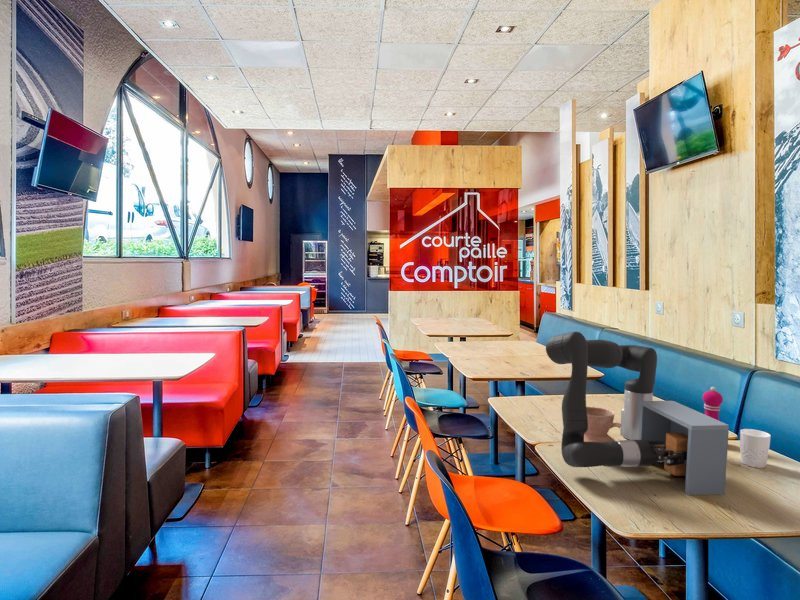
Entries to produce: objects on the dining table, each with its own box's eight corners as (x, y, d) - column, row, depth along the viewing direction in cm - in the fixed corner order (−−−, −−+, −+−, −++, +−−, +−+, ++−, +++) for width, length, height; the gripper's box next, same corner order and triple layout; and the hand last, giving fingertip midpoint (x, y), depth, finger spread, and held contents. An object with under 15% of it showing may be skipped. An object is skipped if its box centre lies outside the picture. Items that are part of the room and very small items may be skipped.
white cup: (765, 461, 163) (767, 431, 163) (771, 470, 156) (773, 438, 155) (736, 457, 167) (738, 427, 166) (740, 466, 159) (742, 434, 159)
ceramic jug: (625, 452, 170) (626, 409, 169) (615, 465, 158) (616, 420, 157) (571, 441, 180) (571, 401, 180) (557, 453, 169) (558, 410, 168)
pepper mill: (725, 447, 176) (729, 389, 174) (702, 445, 177) (706, 388, 176) (717, 440, 183) (720, 385, 181) (695, 438, 184) (698, 383, 183)
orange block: (674, 475, 149) (676, 438, 148) (664, 468, 154) (666, 433, 153) (691, 475, 149) (693, 438, 148) (680, 468, 154) (682, 432, 153)
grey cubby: (687, 495, 139) (691, 425, 137) (638, 460, 163) (640, 401, 162) (724, 493, 140) (729, 425, 138) (669, 459, 164) (673, 400, 163)
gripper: (646, 449, 142) (704, 448, 144) (620, 432, 156) (672, 431, 158) (645, 475, 143) (702, 474, 144) (619, 456, 157) (671, 455, 159)
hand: (686, 451), depth 151 cm, fingers closed on orange block, 5 cm apart
